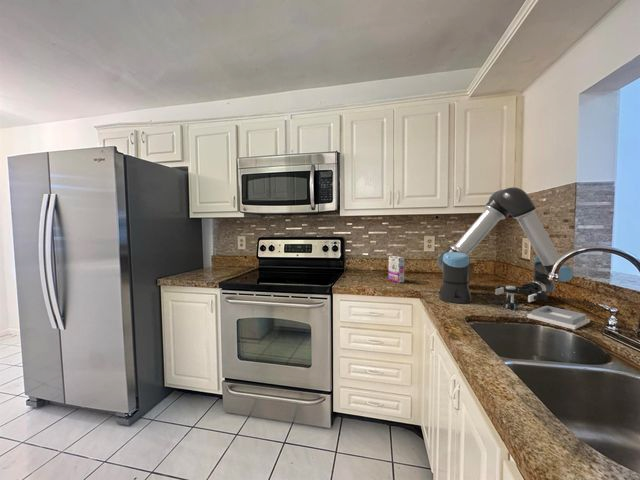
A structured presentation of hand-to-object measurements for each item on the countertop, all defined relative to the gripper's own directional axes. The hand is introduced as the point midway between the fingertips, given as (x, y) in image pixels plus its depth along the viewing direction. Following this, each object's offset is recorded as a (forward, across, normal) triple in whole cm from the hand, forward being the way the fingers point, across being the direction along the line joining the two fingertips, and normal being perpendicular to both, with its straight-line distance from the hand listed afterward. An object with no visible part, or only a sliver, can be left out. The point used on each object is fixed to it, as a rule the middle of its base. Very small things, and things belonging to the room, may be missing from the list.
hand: (511, 295), depth 125 cm
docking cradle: (+1, -17, -6) cm, 18 cm away
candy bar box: (+3, +68, -6) cm, 68 cm away
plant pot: (-18, +36, -6) cm, 41 cm away
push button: (+1, +1, -6) cm, 6 cm away
